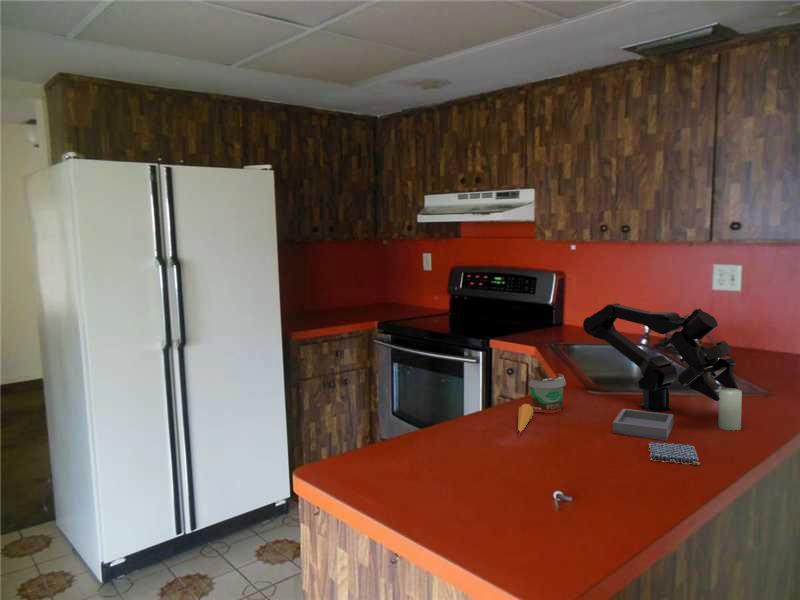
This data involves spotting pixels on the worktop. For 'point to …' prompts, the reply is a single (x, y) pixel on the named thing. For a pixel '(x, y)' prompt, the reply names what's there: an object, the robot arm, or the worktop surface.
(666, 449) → the woven mat
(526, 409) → the carrot
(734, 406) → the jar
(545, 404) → the food container
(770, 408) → the worktop surface
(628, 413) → the tray
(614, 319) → the robot arm
